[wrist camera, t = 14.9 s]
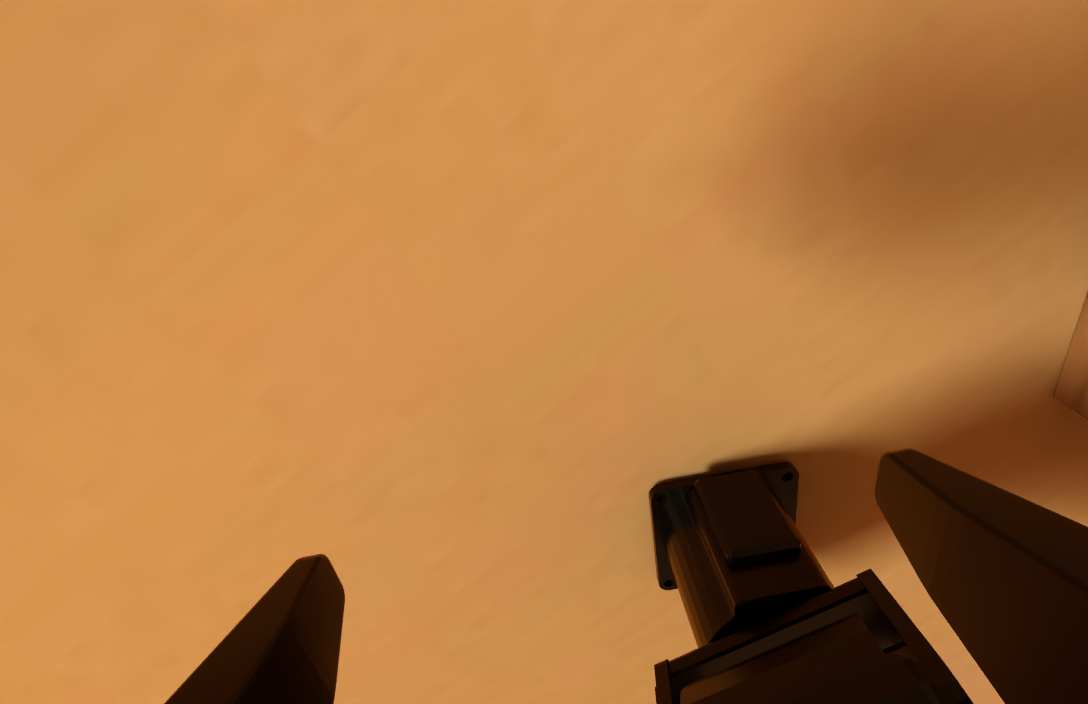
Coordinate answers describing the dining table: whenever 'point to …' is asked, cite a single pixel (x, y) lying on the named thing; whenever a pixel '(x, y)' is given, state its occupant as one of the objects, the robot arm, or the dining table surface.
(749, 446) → the dining table surface
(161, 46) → the dining table surface
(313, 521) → the dining table surface
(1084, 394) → the bookend
